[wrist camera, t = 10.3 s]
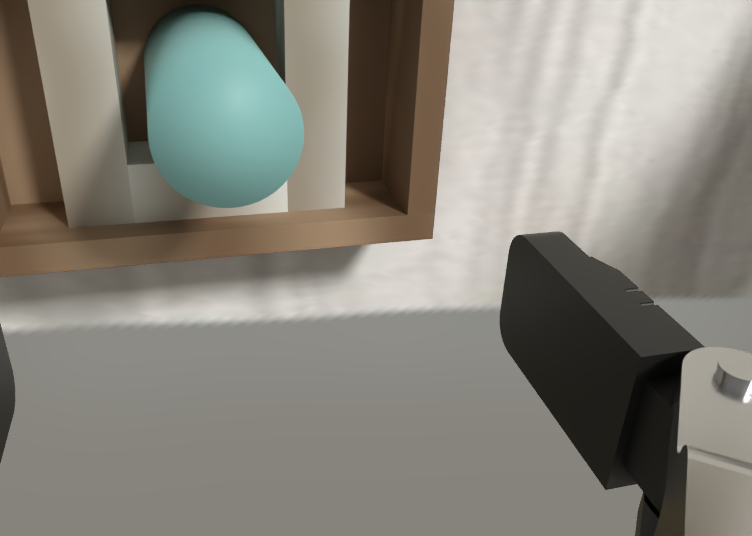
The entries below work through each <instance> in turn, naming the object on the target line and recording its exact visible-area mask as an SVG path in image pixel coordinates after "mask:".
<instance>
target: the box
mask: <svg viewBox="0 0 752 536" xmlns="http://www.w3.org/2000/svg"><path fill="white" fill-rule="evenodd" d="M192 4H202V5H209V6H213V7H216V8H219V9H221V10H223V11H225V12H227V13H229V14H230V15H232V16H233V17H234V18H235V19H237V20H238V21H239V22H240V23H241V24H242V26H243V27H244V28H245V29H246V31H247V32H248V33H249V35H250V36H251V38H252V39H253V40H254V42H255V43H256V44H257V46H258V47H259V49H260V50H261V51H262V53H263V54H264V56H265V57H266V58H267V60H268V61H269V62H270V64H271V65H272V67H273V68H274V69H275V71H276V72H277V74H278V75H279V76H280V78H281V79H282V80H283V82H284V83H285V85H286V86H287V87H288V89H289V90H290V92H291V93H292V95H293V96H294V98H295V100H296V102H297V104H298V106H299V108H300V111H301V114H302V118H303V124H304V144H303V149H302V154H301V156H300V159H299V162H298V164H297V166H296V168H295V170H294V172H293V173H292V175H291V176H290V177H289V179H288V180H287V181H286V182H285V183H284V184H283V185H282V186H281V187H280V188H279V189H278V190H277V191H276V192H274V193H273V194H271V195H270V196H268V197H267V198H265V199H263V200H261V201H259V202H256V203H253V204H251V205H247V206H243V207H236V208H217V207H211V206H206V205H202V204H200V203H197V202H194V201H192V200H190V199H188V198H186V197H185V196H183V195H182V194H180V193H179V192H177V191H176V190H175V189H174V188H173V187H172V186H170V185H169V184H168V182H167V181H166V180H165V179H164V178H163V177H162V175H161V174H160V172H159V170H158V169H157V167H156V165H155V163H154V161H153V158H152V155H151V152H150V148H149V142H148V126H147V107H146V89H145V70H144V49H145V44H146V40H147V38H148V35H149V33H150V31H151V30H152V28H153V26H154V25H155V24H156V23H157V21H158V20H160V19H161V18H162V17H163V16H164V15H165V14H167V13H168V12H170V11H172V10H174V9H176V8H179V7H182V6H186V5H192ZM453 10H454V0H0V277H6V276H17V275H28V274H39V273H51V272H62V271H73V270H84V269H96V268H107V267H118V266H129V265H141V264H152V263H163V262H174V261H186V260H197V259H208V258H219V257H231V256H242V255H253V254H264V253H276V252H287V251H298V250H309V249H321V248H332V247H343V246H354V245H366V244H377V243H388V242H399V241H411V240H422V239H432V238H433V227H434V216H435V205H436V194H437V183H438V173H439V162H440V151H441V140H442V129H443V118H444V107H445V97H446V86H447V75H448V64H449V53H450V42H451V31H452V21H453Z"/></svg>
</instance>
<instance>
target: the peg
mask: <svg viewBox="0 0 752 536" xmlns="http://www.w3.org/2000/svg"><path fill="white" fill-rule="evenodd" d="M144 70H145V89H146V107H147V126H148V142H149V148H150V152H151V155H152V158H153V161H154V163H155V165H156V167H157V169H158V170H159V172H160V174H161V175H162V177H163V178H164V179H165V180H166V181H167V182H168V184H169V185H170V186H172V187H173V188H174V189H175V190H176V191H177V192H179V193H180V194H182V195H183V196H185V197H186V198H188V199H190V200H192V201H194V202H197V203H200V204H202V205H206V206H211V207H217V208H236V207H243V206H247V205H251V204H253V203H256V202H259V201H261V200H263V199H265V198H267V197H268V196H270V195H271V194H273V193H274V192H276V191H277V190H278V189H279V188H280V187H281V186H282V185H283V184H284V183H285V182H286V181H287V180H288V179H289V177H290V176H291V175H292V173H293V172H294V170H295V168H296V166H297V164H298V162H299V159H300V156H301V154H302V149H303V144H304V124H303V118H302V114H301V111H300V108H299V106H298V104H297V102H296V100H295V98H294V96H293V95H292V93H291V92H290V90H289V89H288V87H287V86H286V85H285V83H284V82H283V80H282V79H281V78H280V76H279V75H278V74H277V72H276V71H275V69H274V68H273V67H272V65H271V64H270V62H269V61H268V60H267V58H266V57H265V56H264V54H263V53H262V51H261V50H260V49H259V47H258V46H257V44H256V43H255V42H254V40H253V39H252V38H251V36H250V35H249V33H248V32H247V31H246V29H245V28H244V27H243V26H242V24H241V23H240V22H239V21H238V20H237V19H235V18H234V17H233V16H232V15H230V14H229V13H227V12H225V11H223V10H221V9H219V8H216V7H213V6H209V5H202V4H192V5H186V6H182V7H179V8H176V9H174V10H172V11H170V12H168V13H167V14H165V15H164V16H163V17H162V18H161V19H160V20H158V21H157V23H156V24H155V25H154V26H153V28H152V30H151V31H150V33H149V35H148V38H147V40H146V44H145V49H144Z"/></svg>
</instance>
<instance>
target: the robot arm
mask: <svg viewBox="0 0 752 536" xmlns="http://www.w3.org/2000/svg"><path fill="white" fill-rule="evenodd" d="M500 329H501V335H502V339H503V342H504V345H505V347H506V349H507V351H508V353H509V354H510V355H511V357H512V358H513V360H514V361H515V362H516V364H517V365H518V367H519V368H520V369H521V371H522V372H523V374H524V375H525V376H526V378H527V379H528V381H529V382H530V384H531V385H532V386H533V388H534V389H535V391H536V392H537V394H538V395H539V396H540V398H541V399H542V400H543V402H544V403H545V405H546V406H547V408H548V409H549V410H550V412H551V413H552V415H553V416H554V418H555V419H556V420H557V422H558V423H559V425H560V426H561V427H562V429H563V430H564V432H565V433H566V435H567V436H568V437H569V439H570V440H571V442H572V443H573V444H574V446H575V447H576V449H577V450H578V451H579V453H580V454H581V456H582V457H583V458H584V460H585V461H586V462H587V464H588V465H589V467H590V468H591V470H592V471H593V473H594V474H595V475H596V477H597V478H598V480H599V481H600V482H601V484H602V485H603V487H604V488H605V490H607V489H613V488H618V487H623V486H628V485H634V484H638V485H639V487H640V488H641V489H642V490H643V494H642V497H641V501H640V504H639V508H638V513H637V521H636V530H635V536H752V354H750V353H748V352H744V351H740V350H737V349H732V348H726V347H704V346H703V345H702V344H701V343H700V342H698V341H697V340H696V339H695V338H694V337H693V336H692V335H691V334H690V333H688V332H687V331H686V330H685V329H684V328H683V327H681V325H679V324H678V323H677V322H676V321H675V320H674V319H673V318H672V317H670V316H669V315H668V314H667V313H666V312H665V311H664V310H663V309H662V308H660V307H659V306H658V305H654V301H653V300H652V299H650V298H649V297H648V296H647V295H646V294H645V293H644V292H643V291H638V287H637V286H636V285H635V284H634V283H632V282H631V281H630V280H629V279H628V278H627V277H626V276H625V275H624V274H622V273H621V272H620V271H619V270H617V269H615V268H613V267H611V266H609V265H607V264H605V263H603V262H601V261H599V260H597V259H595V258H593V257H589V256H588V255H586V254H585V253H584V252H583V251H582V250H581V249H580V248H579V247H578V246H577V245H576V244H575V243H573V242H572V241H571V240H570V239H569V238H568V237H567V236H566V235H565V234H563V233H562V232H548V233H537V234H525V235H518V236H516V237H515V238H514V239H513V240H512V242H511V245H510V249H509V255H508V262H507V269H506V276H505V283H504V290H503V297H502V304H501V311H500ZM14 407H15V383H14V376H13V370H12V366H11V363H10V359H9V355H8V351H7V347H6V344H5V340H4V336H3V332H2V328H1V325H0V462H1V459H2V455H3V451H4V448H5V444H6V440H7V436H8V432H9V429H10V425H11V421H12V418H13V414H14Z"/></svg>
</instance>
